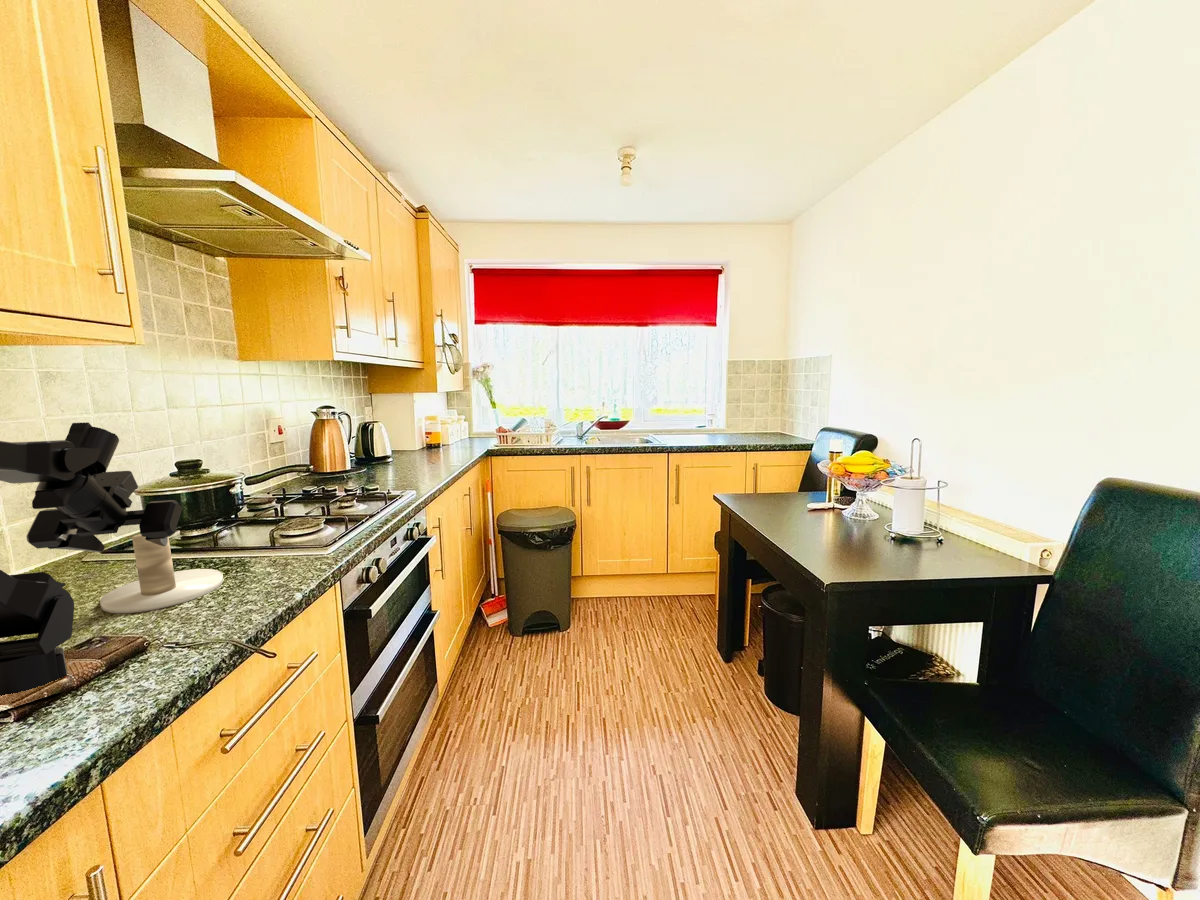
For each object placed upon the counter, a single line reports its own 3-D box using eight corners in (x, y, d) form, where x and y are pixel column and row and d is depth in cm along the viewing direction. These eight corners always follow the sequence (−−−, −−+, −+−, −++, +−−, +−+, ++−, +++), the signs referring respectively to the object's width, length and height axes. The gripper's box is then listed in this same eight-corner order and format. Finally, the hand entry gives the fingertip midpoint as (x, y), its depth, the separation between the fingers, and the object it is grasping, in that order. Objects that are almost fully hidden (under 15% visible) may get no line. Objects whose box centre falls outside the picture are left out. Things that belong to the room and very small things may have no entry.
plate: (104, 623, 85) (102, 616, 85) (98, 594, 97) (97, 588, 97) (232, 589, 98) (231, 584, 98) (213, 567, 110) (212, 562, 110)
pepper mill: (153, 596, 93) (142, 528, 91) (134, 594, 94) (123, 527, 92) (182, 586, 97) (172, 521, 95) (164, 583, 99) (154, 519, 97)
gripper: (169, 454, 85) (207, 503, 97) (27, 461, 79) (86, 512, 91) (149, 510, 78) (192, 556, 90) (-6, 522, 73) (61, 569, 85)
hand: (134, 546), depth 89 cm, fingers open, 9 cm apart
